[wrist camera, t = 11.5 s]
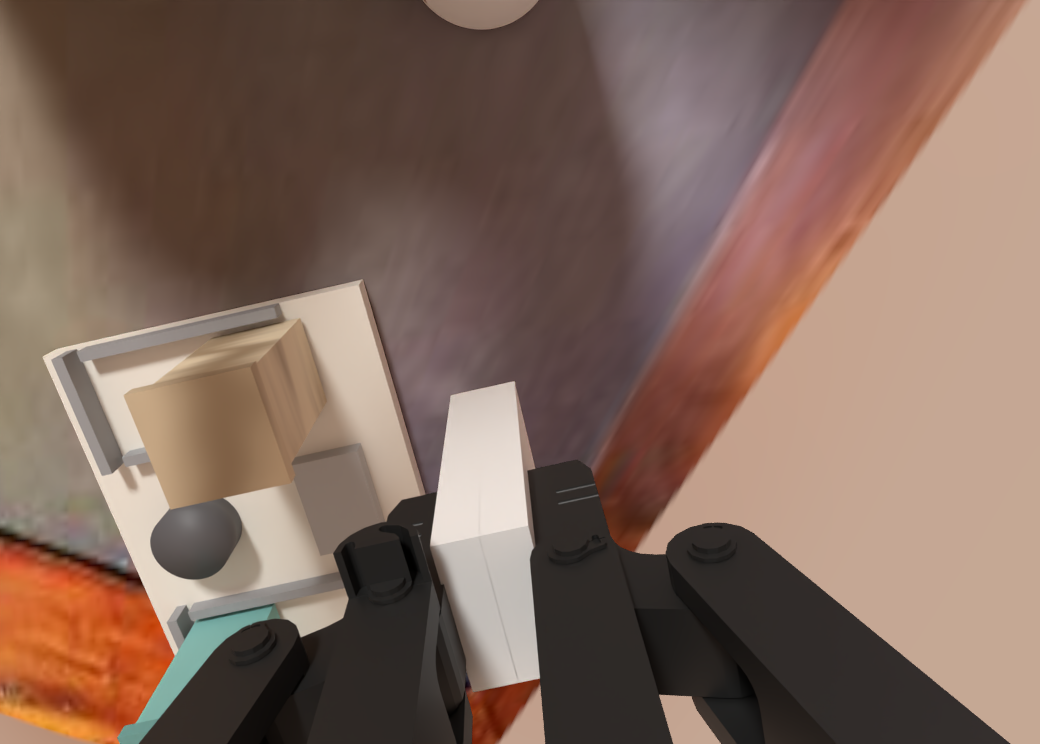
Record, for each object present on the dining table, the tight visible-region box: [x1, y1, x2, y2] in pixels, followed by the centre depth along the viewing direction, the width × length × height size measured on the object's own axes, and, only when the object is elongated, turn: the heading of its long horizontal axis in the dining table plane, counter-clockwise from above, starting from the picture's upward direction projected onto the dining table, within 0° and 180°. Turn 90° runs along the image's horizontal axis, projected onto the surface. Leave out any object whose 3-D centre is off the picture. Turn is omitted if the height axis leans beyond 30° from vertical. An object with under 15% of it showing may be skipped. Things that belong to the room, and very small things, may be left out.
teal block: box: [118, 603, 280, 744], centre depth 44 cm, size 6×6×10 cm
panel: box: [43, 279, 426, 656], centre depth 45 cm, size 18×24×4 cm
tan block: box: [123, 318, 327, 509], centre depth 38 cm, size 6×6×10 cm
